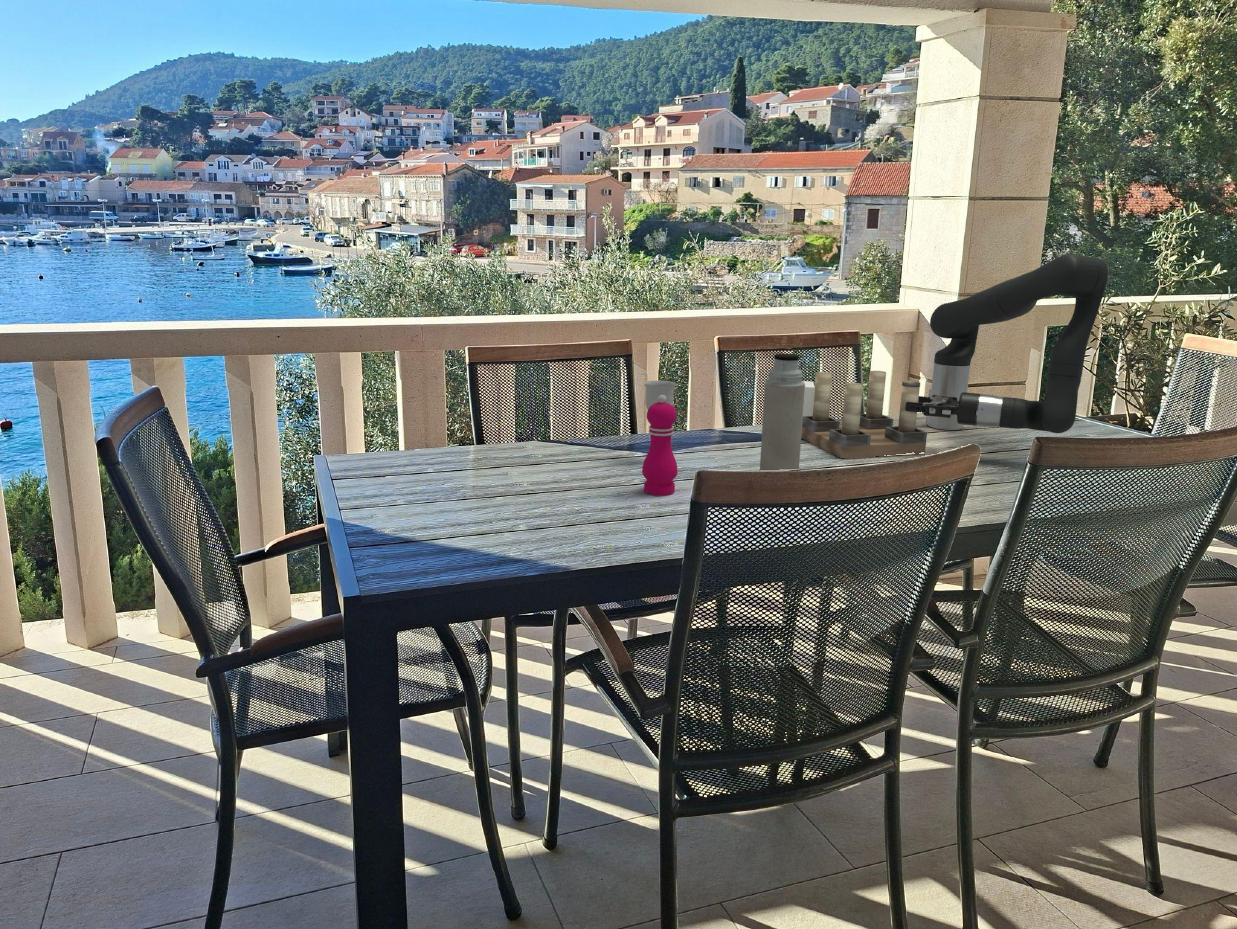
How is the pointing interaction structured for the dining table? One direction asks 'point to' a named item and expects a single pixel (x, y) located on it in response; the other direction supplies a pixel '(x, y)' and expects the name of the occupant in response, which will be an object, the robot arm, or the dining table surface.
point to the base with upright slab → (808, 398)
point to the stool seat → (857, 422)
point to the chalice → (659, 391)
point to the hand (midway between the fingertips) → (908, 403)
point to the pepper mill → (660, 450)
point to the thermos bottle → (782, 415)
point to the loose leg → (908, 395)
